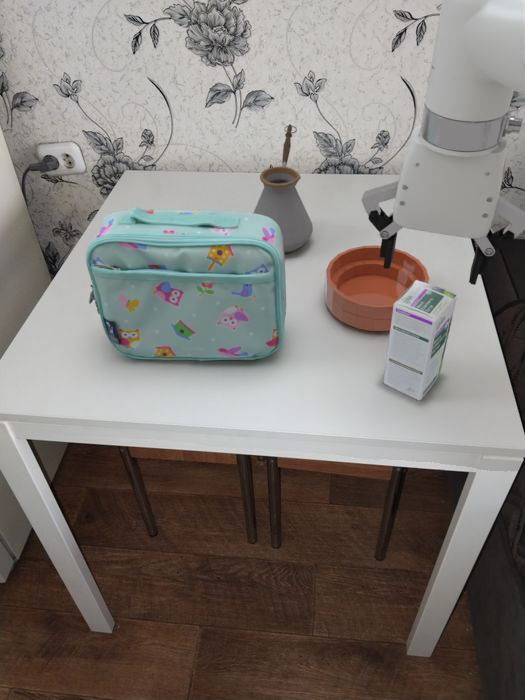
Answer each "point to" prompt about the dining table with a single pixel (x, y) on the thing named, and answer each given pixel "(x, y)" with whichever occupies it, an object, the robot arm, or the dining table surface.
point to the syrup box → (418, 338)
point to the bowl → (369, 286)
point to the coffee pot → (285, 201)
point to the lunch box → (189, 284)
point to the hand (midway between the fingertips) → (429, 269)
